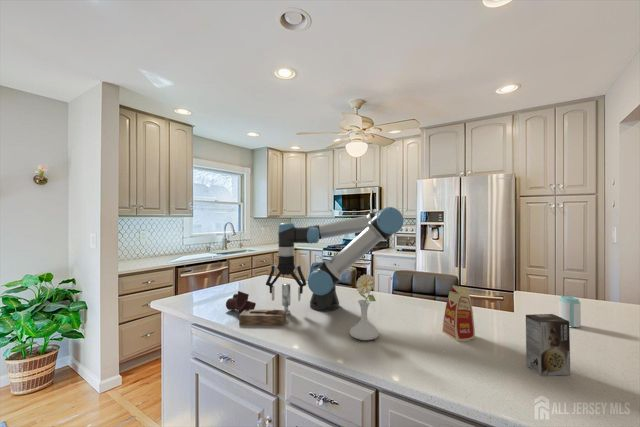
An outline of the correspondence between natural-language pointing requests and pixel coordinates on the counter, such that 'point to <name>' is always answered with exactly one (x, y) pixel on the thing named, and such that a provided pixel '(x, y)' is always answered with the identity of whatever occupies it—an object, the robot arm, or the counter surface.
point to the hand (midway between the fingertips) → (286, 300)
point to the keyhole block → (262, 317)
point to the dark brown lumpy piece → (240, 302)
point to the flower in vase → (364, 310)
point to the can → (570, 310)
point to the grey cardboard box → (548, 344)
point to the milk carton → (459, 315)
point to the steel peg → (286, 297)
